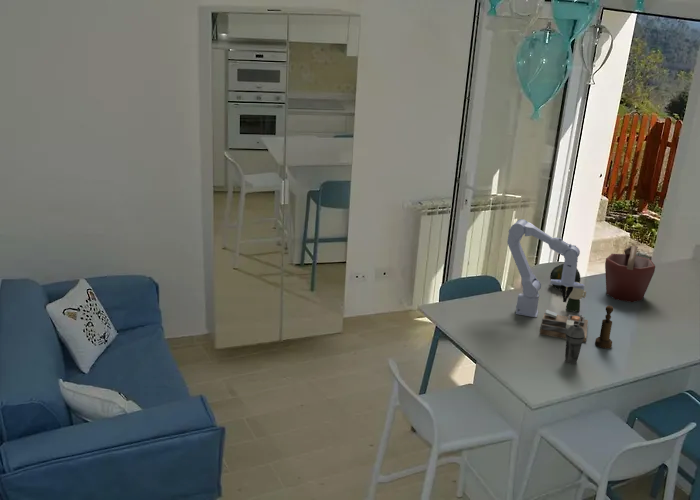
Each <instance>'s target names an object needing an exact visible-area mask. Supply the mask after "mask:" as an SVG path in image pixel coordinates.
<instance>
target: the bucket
mask: <svg viewBox="0 0 700 500" xmlns="http://www.w3.org/2000/svg"><path fill="white" fill-rule="evenodd" d="M638 247H639V246H637V245H630V246H629V247H627V248H625V250H624V253H611V254H610V255H609V256H607V257H606V258H605V264H604V270H605V273H604V274H605V290H606V295H607V294H608V296H609V295H610V296H609V297H610V298H612V297H613V298H612V299H614V300H617V301H622V302H627V303H634V302H635V303H637V302H640V301H643V299H644V297H645V295H646V293H647V290H648V287H649V285H650V283H651V281H652V278H653V276H654V274H655V272H656V271H655V270H656V265H655V263H654V262H653V261H652V260H651V259H649V258H646V257H643V256H639V255H637V251H638Z"/></svg>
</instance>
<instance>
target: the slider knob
mask: <svg viewBox="0 0 700 500" xmlns="http://www.w3.org/2000/svg"><path fill="white" fill-rule="evenodd" d="M572 325H574V321H571V320H567V323H566V328H567V329H568V328H569V327H570V326H572Z"/></svg>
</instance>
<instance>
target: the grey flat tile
mask: <svg viewBox="0 0 700 500" xmlns="http://www.w3.org/2000/svg"><path fill="white" fill-rule="evenodd" d="M544 313H545V315H548V316H551V317H554V318H556V317H557V315H558V313H557V312H554V311H552V310H549V309H546V310H545V311H544Z"/></svg>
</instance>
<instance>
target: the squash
mask: <svg viewBox="0 0 700 500" xmlns="http://www.w3.org/2000/svg"><path fill="white" fill-rule="evenodd" d="M563 265H564V263H562V264H558V265H557V266H555V267H553V269H552V270H551V271H550V274H549V275H550V276H549V279H550V281H551V279H554V280H561V278H562V272H563ZM575 282H579V283H581V273H580V271H579V269H578V268H577V269H576V276H575ZM551 286H552V288H554V289H556V290H560V291H561V286H560V285H554V284H553V285H551Z"/></svg>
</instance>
